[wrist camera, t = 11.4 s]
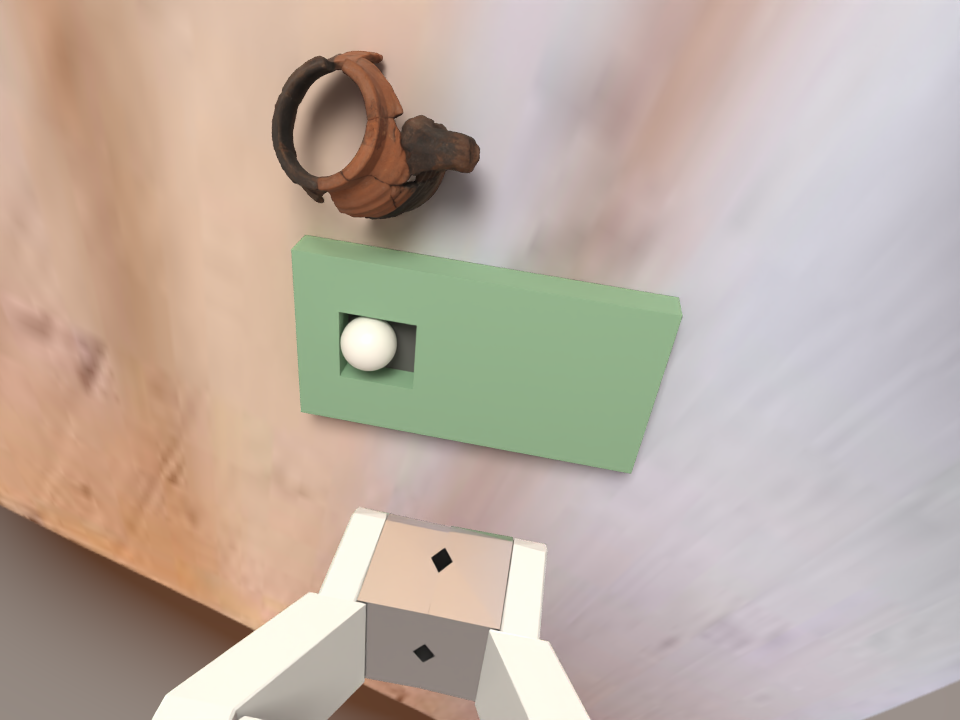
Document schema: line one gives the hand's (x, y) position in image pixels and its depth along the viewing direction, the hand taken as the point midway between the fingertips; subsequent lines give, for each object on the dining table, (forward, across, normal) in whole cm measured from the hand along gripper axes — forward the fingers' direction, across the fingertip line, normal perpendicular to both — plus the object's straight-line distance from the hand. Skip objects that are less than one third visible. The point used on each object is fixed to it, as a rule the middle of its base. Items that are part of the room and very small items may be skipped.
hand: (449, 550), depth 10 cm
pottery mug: (+34, +10, +4) cm, 36 cm away
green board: (+34, +3, +19) cm, 39 cm away
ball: (+32, +11, +18) cm, 38 cm away
